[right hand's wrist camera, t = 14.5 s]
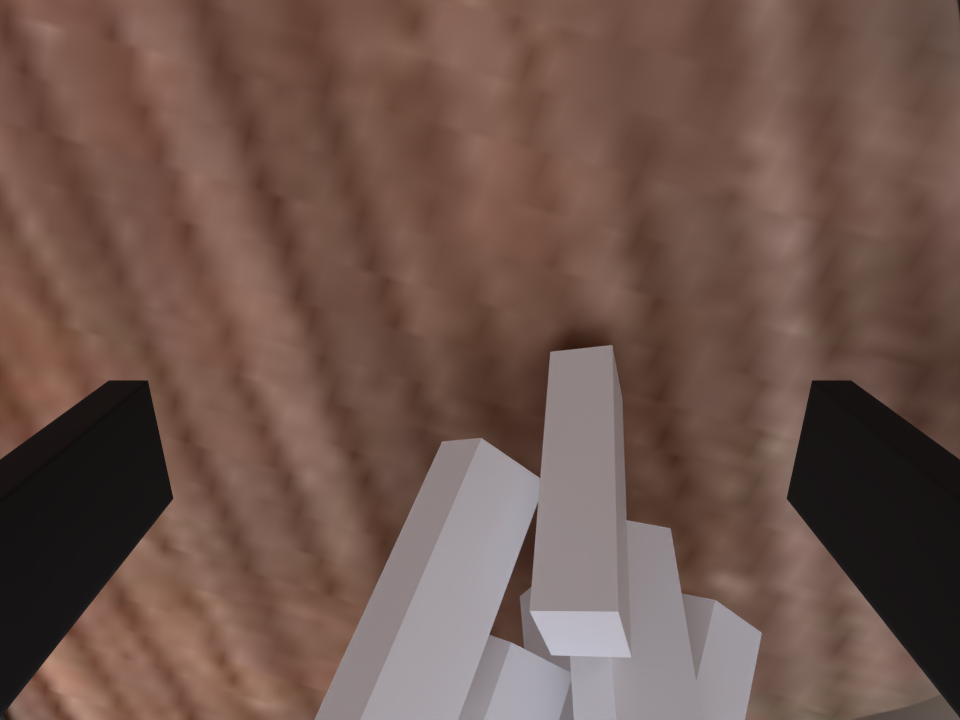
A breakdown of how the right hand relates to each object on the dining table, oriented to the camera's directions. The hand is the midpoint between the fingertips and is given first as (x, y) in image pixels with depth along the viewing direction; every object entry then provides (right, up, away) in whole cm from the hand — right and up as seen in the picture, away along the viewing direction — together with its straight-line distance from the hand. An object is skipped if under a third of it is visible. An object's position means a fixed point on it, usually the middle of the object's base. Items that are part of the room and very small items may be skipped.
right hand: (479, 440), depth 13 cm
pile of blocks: (+3, -15, +38) cm, 41 cm away
